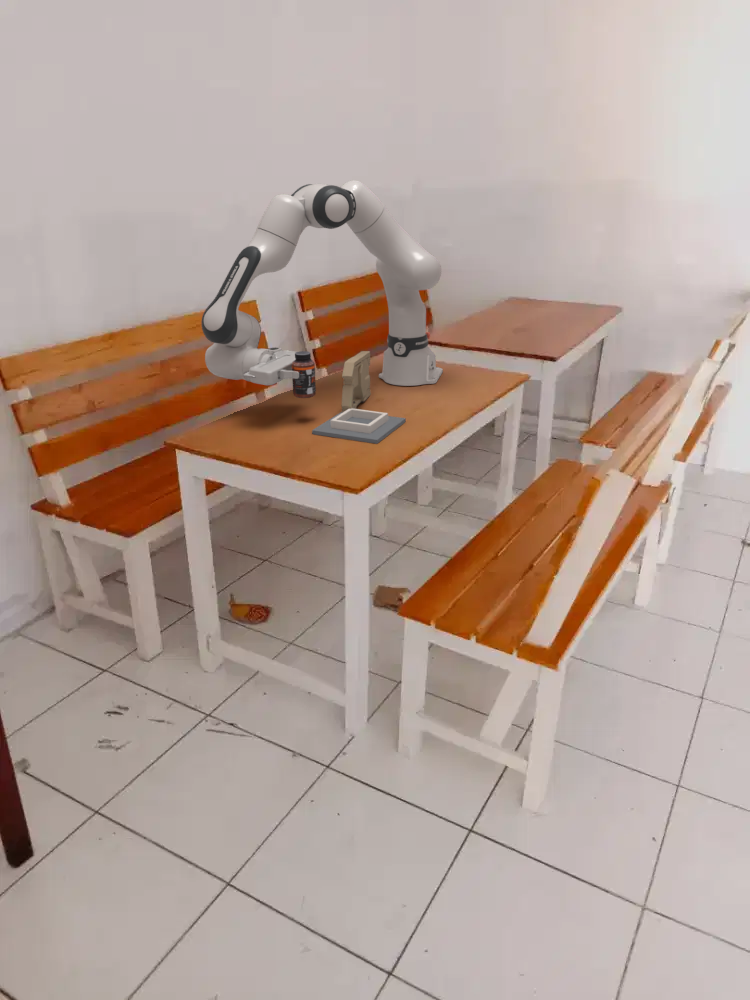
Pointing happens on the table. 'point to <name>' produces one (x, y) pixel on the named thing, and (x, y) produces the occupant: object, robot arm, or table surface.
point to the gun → (356, 380)
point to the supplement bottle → (304, 375)
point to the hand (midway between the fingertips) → (306, 371)
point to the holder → (360, 425)
